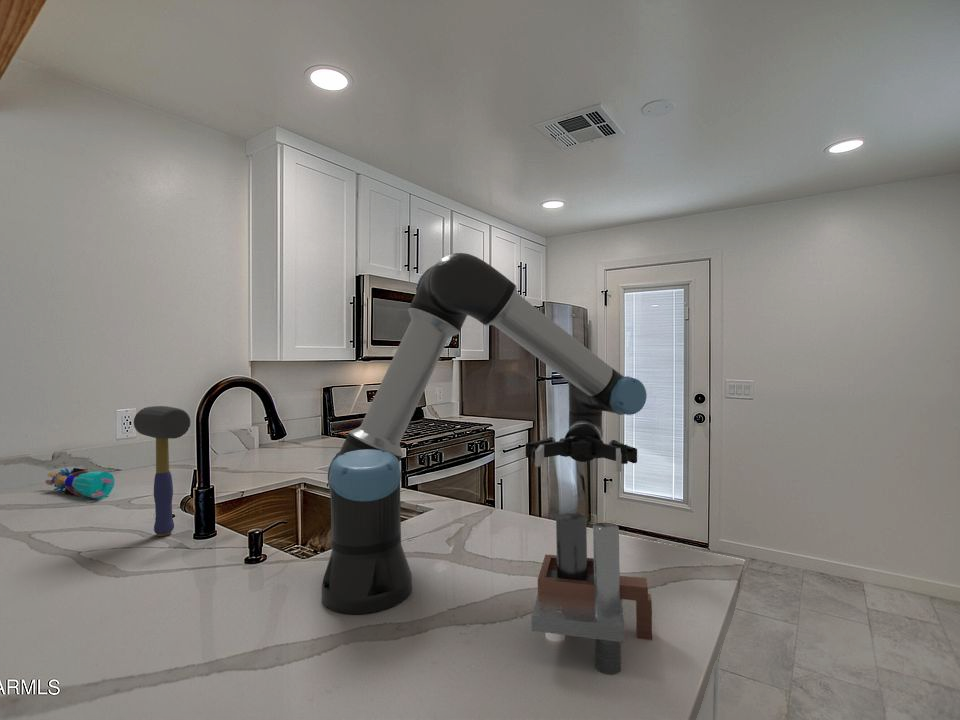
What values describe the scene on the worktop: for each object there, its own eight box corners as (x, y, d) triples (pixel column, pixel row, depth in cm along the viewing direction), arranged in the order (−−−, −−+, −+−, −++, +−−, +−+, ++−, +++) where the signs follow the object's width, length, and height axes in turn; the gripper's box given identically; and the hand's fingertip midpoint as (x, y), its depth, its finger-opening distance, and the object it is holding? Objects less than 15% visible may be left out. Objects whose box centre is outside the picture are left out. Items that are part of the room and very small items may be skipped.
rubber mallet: (132, 535, 113) (130, 406, 113) (166, 525, 120) (164, 403, 120) (161, 544, 107) (159, 408, 107) (195, 533, 114) (193, 405, 114)
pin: (556, 632, 71) (554, 522, 71) (559, 616, 75) (557, 512, 75) (587, 636, 70) (585, 524, 69) (588, 619, 74) (586, 514, 74)
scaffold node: (532, 665, 63) (530, 526, 63) (546, 607, 78) (544, 494, 78) (659, 683, 59) (656, 535, 59) (648, 619, 74) (647, 500, 74)
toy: (91, 500, 140) (30, 490, 151) (119, 501, 147) (60, 491, 159) (99, 471, 142) (39, 463, 154) (127, 473, 150) (68, 466, 161)
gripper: (645, 462, 100) (655, 488, 79) (524, 455, 106) (505, 478, 86) (645, 425, 100) (655, 442, 79) (524, 421, 106) (505, 435, 86)
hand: (577, 461), depth 82 cm, fingers open, 13 cm apart
